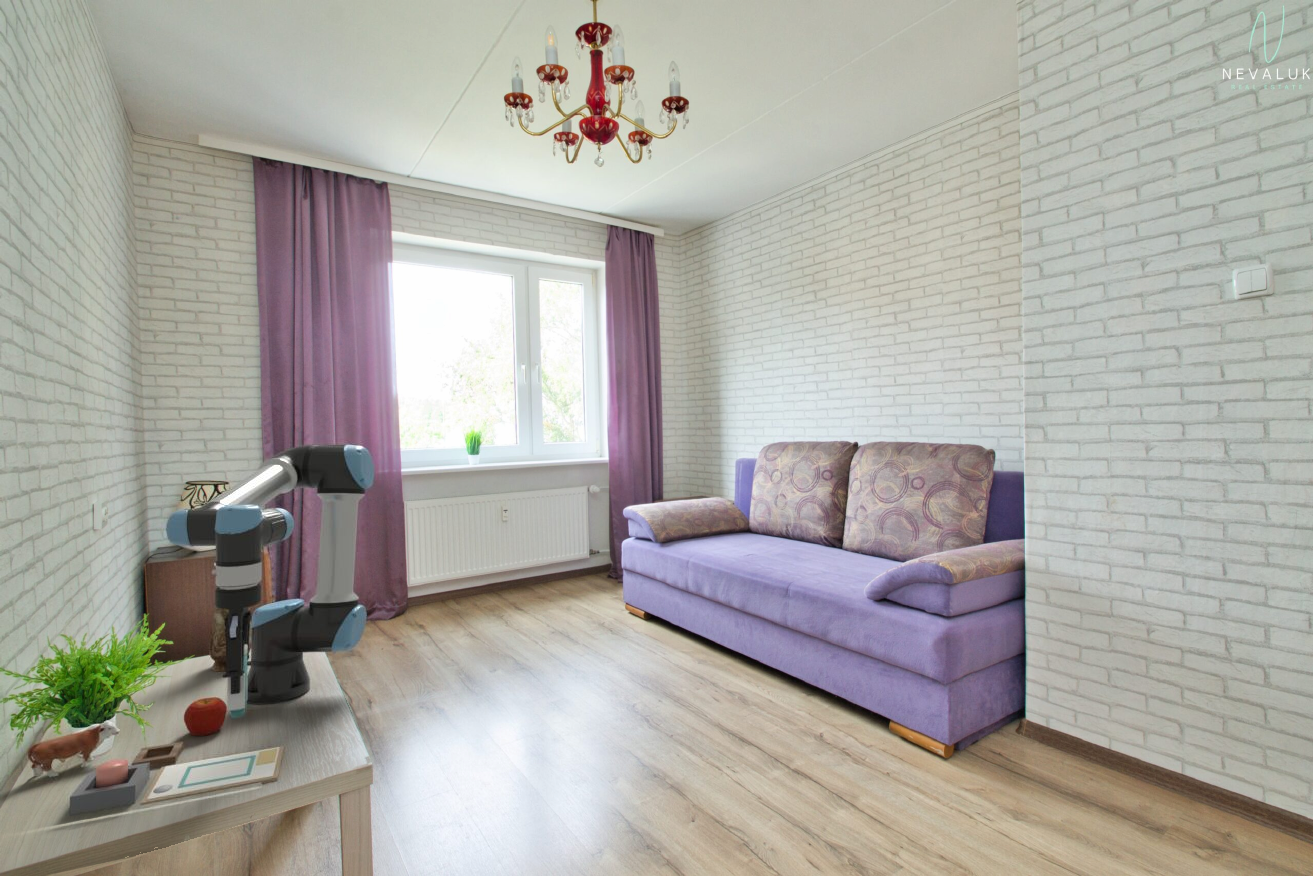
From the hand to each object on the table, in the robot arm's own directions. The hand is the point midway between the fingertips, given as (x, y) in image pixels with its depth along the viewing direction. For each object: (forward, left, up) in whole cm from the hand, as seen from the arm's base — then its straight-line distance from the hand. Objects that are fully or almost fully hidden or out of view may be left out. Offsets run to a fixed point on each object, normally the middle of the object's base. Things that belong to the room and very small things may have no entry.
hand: (237, 704), depth 124 cm
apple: (-24, -9, -14) cm, 29 cm away
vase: (-72, -11, -14) cm, 74 cm away
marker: (0, 0, -2) cm, 2 cm away
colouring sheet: (-2, -3, -14) cm, 14 cm away
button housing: (0, -19, -14) cm, 24 cm away
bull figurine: (-16, -29, -14) cm, 36 cm away
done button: (0, -19, -11) cm, 22 cm away
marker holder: (-13, -15, -14) cm, 24 cm away
